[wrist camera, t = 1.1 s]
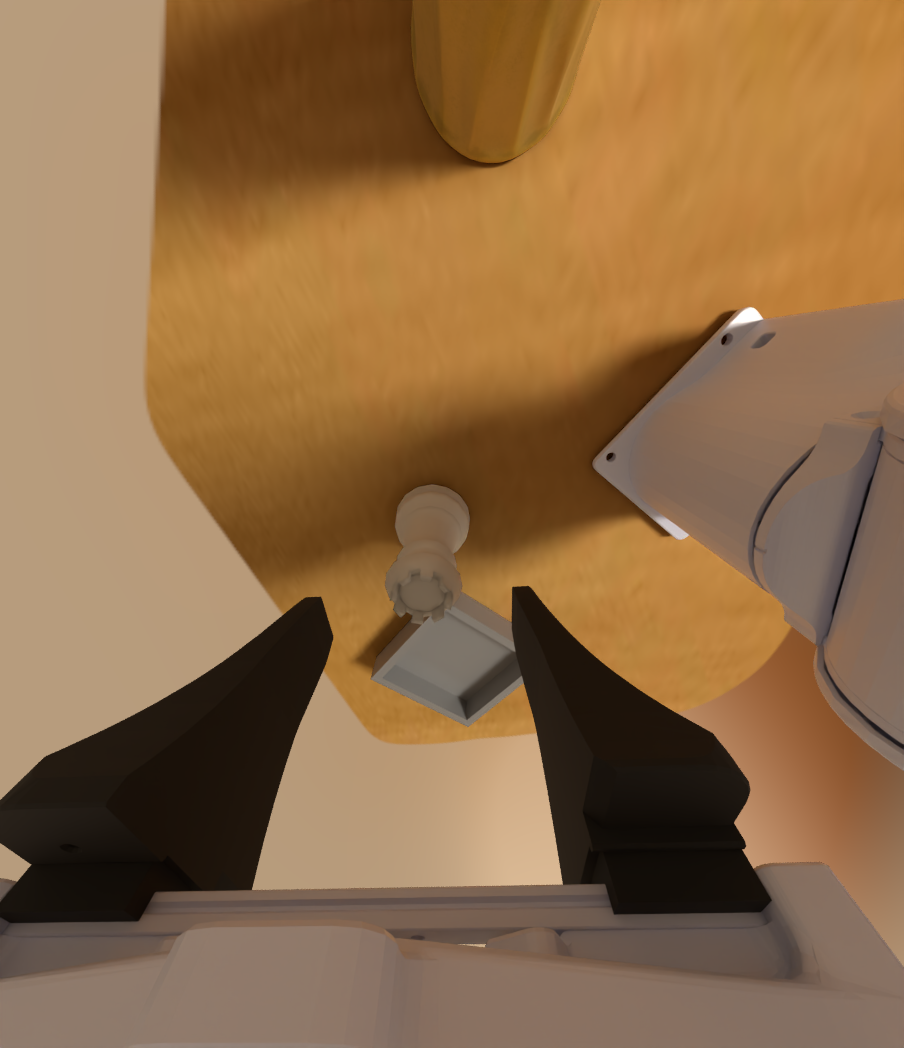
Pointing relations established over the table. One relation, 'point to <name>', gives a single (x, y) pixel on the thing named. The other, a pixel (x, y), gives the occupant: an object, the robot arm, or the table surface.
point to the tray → (453, 661)
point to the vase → (497, 69)
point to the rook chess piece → (428, 552)
